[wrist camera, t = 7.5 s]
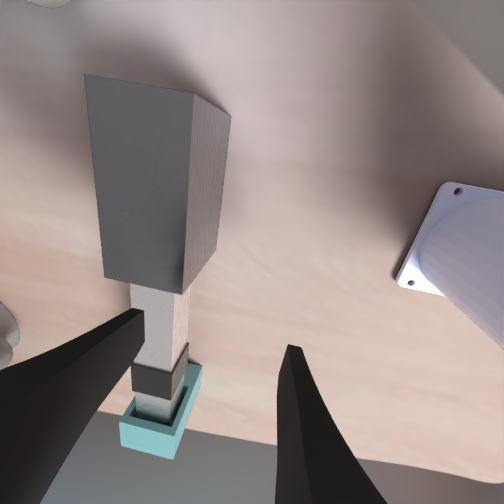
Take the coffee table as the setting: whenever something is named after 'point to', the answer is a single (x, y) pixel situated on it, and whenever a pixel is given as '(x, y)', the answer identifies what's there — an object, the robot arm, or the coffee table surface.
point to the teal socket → (158, 435)
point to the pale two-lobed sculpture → (50, 3)
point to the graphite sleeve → (156, 180)
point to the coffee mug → (7, 336)
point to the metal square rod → (160, 353)
